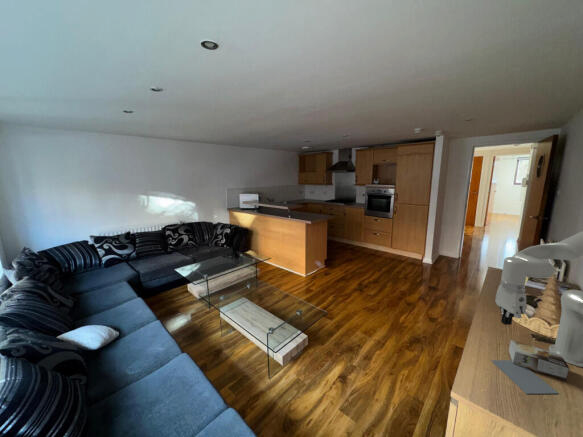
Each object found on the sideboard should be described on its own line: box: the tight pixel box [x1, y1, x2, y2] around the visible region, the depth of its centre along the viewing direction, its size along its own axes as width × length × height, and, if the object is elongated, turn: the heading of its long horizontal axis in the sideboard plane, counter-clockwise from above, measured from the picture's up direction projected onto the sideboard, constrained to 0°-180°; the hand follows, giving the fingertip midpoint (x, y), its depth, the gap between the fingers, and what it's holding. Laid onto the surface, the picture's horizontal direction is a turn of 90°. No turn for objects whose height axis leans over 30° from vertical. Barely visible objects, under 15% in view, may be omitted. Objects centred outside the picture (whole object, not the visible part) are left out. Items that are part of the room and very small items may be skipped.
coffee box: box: [508, 339, 570, 382], centre depth 99 cm, size 9×6×16 cm
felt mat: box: [490, 359, 559, 395], centre depth 95 cm, size 12×16×1 cm
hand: (506, 323), depth 103 cm, fingers closed
